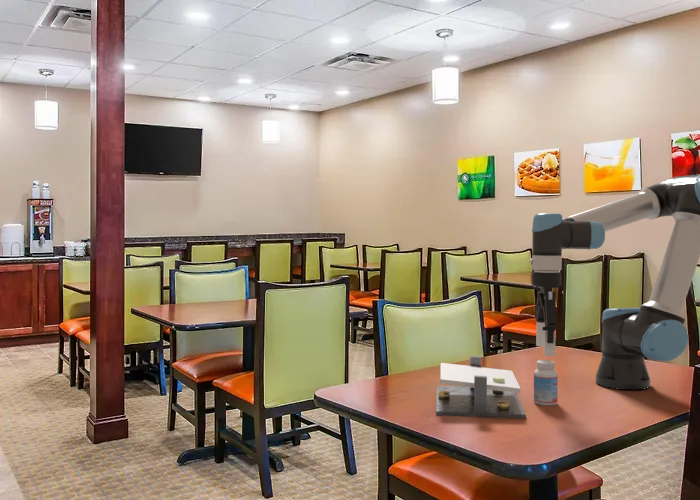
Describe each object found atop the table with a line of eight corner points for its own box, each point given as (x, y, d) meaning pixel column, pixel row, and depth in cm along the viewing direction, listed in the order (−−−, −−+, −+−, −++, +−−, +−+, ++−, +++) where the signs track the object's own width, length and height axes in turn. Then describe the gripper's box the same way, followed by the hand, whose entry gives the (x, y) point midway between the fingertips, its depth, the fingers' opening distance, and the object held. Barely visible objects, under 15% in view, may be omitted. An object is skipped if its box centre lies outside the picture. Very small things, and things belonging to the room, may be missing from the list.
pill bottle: (558, 407, 169) (559, 364, 168) (534, 405, 170) (535, 363, 169) (556, 400, 175) (556, 359, 174) (532, 399, 176) (533, 359, 175)
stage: (511, 374, 182) (511, 367, 182) (520, 394, 160) (521, 386, 160) (440, 366, 185) (441, 359, 185) (440, 384, 163) (440, 377, 163)
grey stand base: (514, 391, 184) (514, 357, 184) (525, 418, 158) (526, 378, 158) (437, 389, 187) (437, 355, 187) (436, 415, 162) (436, 375, 161)
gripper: (526, 268, 184) (524, 341, 185) (538, 274, 159) (537, 359, 160) (553, 268, 183) (551, 342, 183) (570, 274, 158) (568, 360, 159)
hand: (545, 350), depth 172 cm, fingers open, 13 cm apart
